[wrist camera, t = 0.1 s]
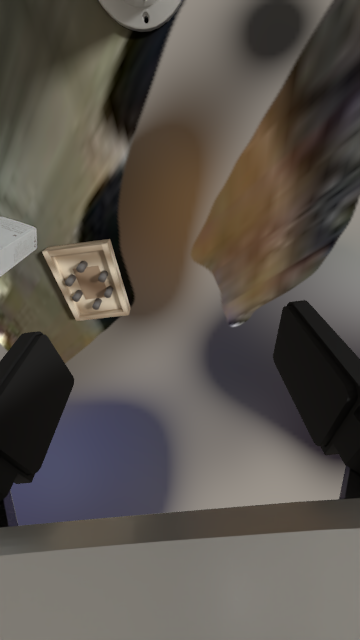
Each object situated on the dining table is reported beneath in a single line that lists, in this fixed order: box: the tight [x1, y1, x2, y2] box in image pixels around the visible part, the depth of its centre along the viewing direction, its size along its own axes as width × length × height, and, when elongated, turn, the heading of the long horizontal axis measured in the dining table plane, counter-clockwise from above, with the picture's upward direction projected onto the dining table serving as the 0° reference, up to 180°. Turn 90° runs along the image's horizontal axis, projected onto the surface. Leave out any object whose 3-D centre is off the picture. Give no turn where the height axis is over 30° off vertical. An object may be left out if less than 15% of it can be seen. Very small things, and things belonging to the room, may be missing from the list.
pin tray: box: [42, 239, 130, 321], centre depth 46 cm, size 16×12×4 cm
